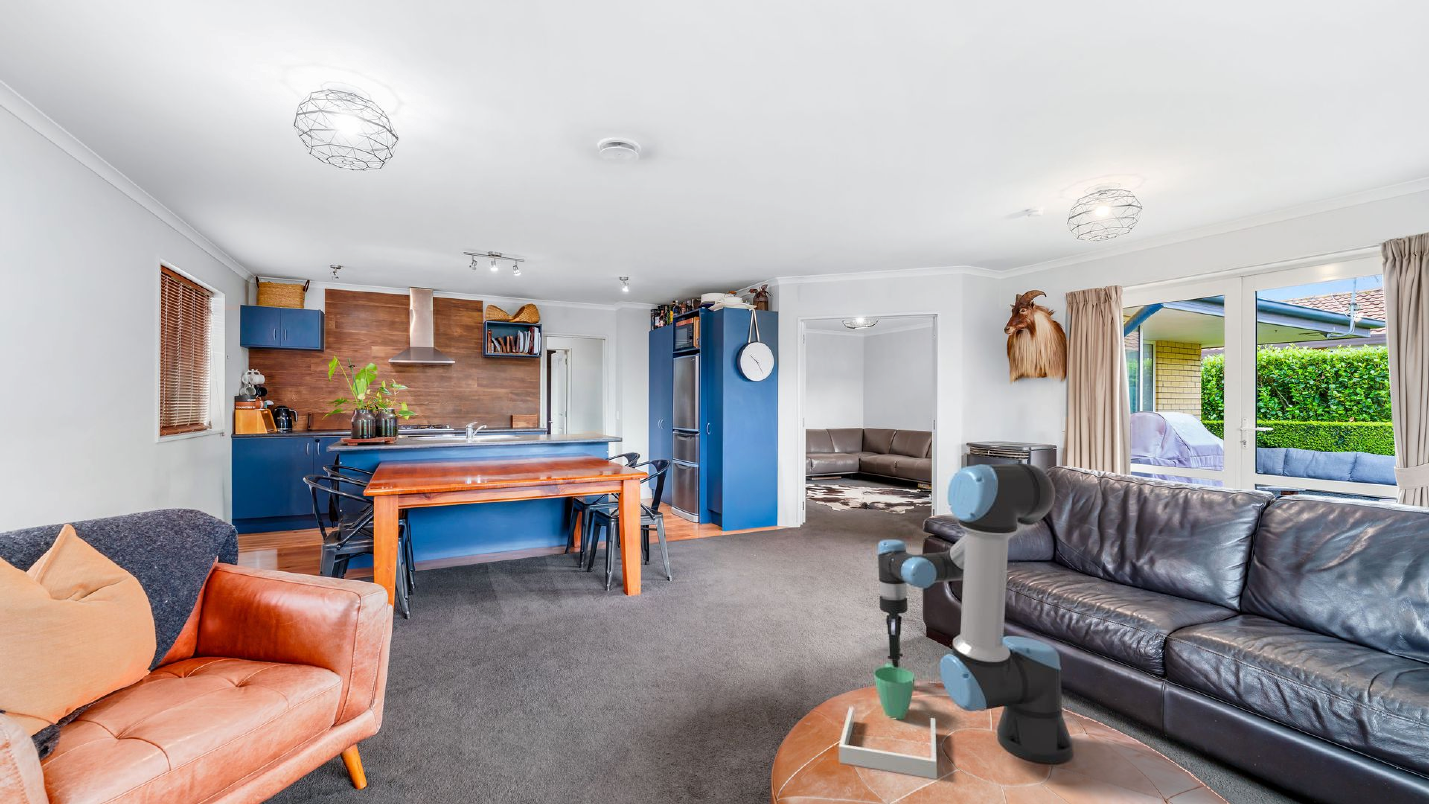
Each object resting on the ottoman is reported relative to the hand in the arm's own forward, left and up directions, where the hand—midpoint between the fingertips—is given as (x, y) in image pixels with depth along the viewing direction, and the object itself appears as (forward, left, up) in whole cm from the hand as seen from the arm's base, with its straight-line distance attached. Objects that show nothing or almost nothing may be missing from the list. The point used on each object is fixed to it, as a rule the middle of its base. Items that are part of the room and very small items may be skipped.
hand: (896, 681), depth 165 cm
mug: (0, +14, -2) cm, 14 cm away
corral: (0, +32, -2) cm, 32 cm away
